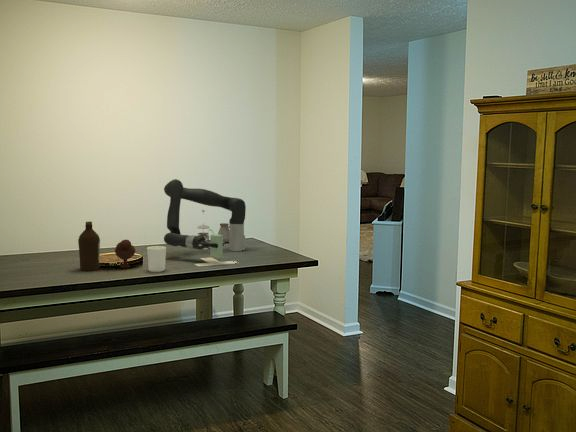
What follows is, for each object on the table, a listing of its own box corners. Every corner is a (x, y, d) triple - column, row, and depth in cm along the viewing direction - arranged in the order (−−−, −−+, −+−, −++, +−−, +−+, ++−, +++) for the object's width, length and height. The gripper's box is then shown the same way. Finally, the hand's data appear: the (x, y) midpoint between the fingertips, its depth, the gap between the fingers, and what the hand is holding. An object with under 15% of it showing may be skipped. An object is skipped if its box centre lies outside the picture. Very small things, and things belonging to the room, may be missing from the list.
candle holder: (168, 268, 300) (168, 246, 299) (162, 272, 290) (162, 249, 289) (150, 268, 301) (150, 245, 299) (144, 271, 291) (144, 248, 290)
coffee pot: (213, 241, 393) (213, 220, 391) (228, 240, 399) (228, 219, 397) (226, 246, 374) (226, 223, 373) (241, 245, 380) (242, 223, 379)
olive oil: (81, 272, 288) (80, 223, 285) (77, 268, 297) (75, 221, 294) (102, 270, 293) (101, 222, 291) (97, 266, 302) (96, 220, 299)
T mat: (185, 259, 326) (185, 259, 326) (224, 256, 337) (224, 256, 337) (198, 266, 307) (198, 266, 307) (239, 263, 318) (239, 263, 318)
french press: (195, 246, 369) (195, 209, 367) (213, 246, 371) (213, 209, 368) (195, 249, 360) (195, 210, 357) (213, 249, 361) (213, 210, 358)
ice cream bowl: (139, 265, 306) (139, 238, 304) (127, 269, 296) (127, 241, 294) (123, 264, 310) (122, 237, 308) (110, 268, 299) (110, 240, 297)
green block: (215, 255, 318) (215, 234, 317) (222, 256, 316) (223, 234, 315) (210, 256, 314) (210, 235, 312) (217, 257, 311) (217, 236, 310)
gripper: (188, 237, 314) (213, 240, 306) (203, 234, 327) (227, 237, 319) (187, 250, 315) (213, 253, 307) (202, 247, 327) (227, 250, 320)
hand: (220, 245), depth 313 cm, fingers closed on green block, 5 cm apart
